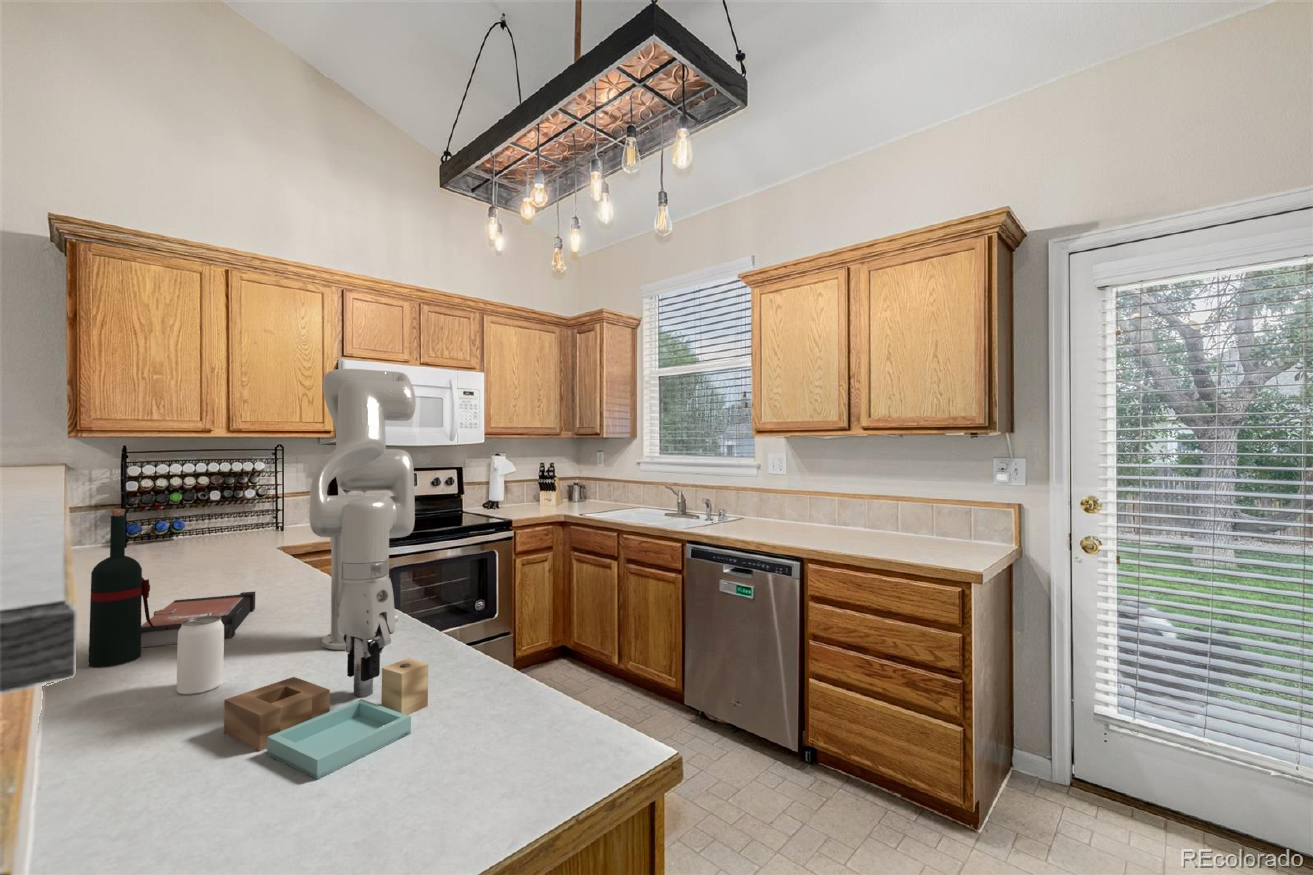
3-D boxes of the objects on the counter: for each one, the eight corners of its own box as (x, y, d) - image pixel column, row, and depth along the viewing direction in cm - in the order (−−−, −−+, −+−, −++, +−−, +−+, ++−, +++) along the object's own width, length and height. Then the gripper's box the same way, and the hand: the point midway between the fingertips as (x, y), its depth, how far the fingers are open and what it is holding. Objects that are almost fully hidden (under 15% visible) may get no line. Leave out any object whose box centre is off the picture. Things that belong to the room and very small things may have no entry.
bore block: (293, 707, 95) (293, 676, 95) (329, 721, 90) (329, 689, 90) (223, 733, 87) (224, 699, 87) (259, 751, 82) (260, 715, 82)
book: (171, 618, 145) (171, 598, 145) (255, 610, 152) (255, 591, 153) (130, 652, 121) (130, 628, 121) (231, 640, 129) (232, 618, 129)
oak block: (407, 699, 99) (408, 657, 99) (427, 706, 96) (428, 663, 96) (381, 711, 94) (381, 667, 94) (401, 718, 92) (402, 673, 92)
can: (197, 697, 99) (198, 626, 99) (166, 694, 100) (168, 624, 100) (232, 682, 105) (233, 616, 105) (202, 679, 106) (204, 613, 107)
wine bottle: (162, 654, 119) (165, 508, 119) (95, 670, 110) (99, 512, 111) (146, 647, 123) (149, 505, 123) (81, 662, 114) (84, 510, 115)
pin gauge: (365, 689, 103) (366, 632, 103) (376, 692, 101) (377, 635, 101) (349, 695, 100) (350, 637, 100) (360, 699, 99) (361, 640, 99)
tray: (361, 714, 93) (361, 699, 93) (410, 733, 87) (410, 716, 87) (267, 754, 81) (267, 736, 81) (317, 779, 75) (317, 760, 75)
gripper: (414, 571, 100) (413, 678, 100) (356, 561, 108) (355, 660, 108) (374, 580, 94) (373, 694, 93) (316, 568, 102) (314, 674, 101)
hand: (363, 675), depth 101 cm, fingers closed on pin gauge, 3 cm apart
